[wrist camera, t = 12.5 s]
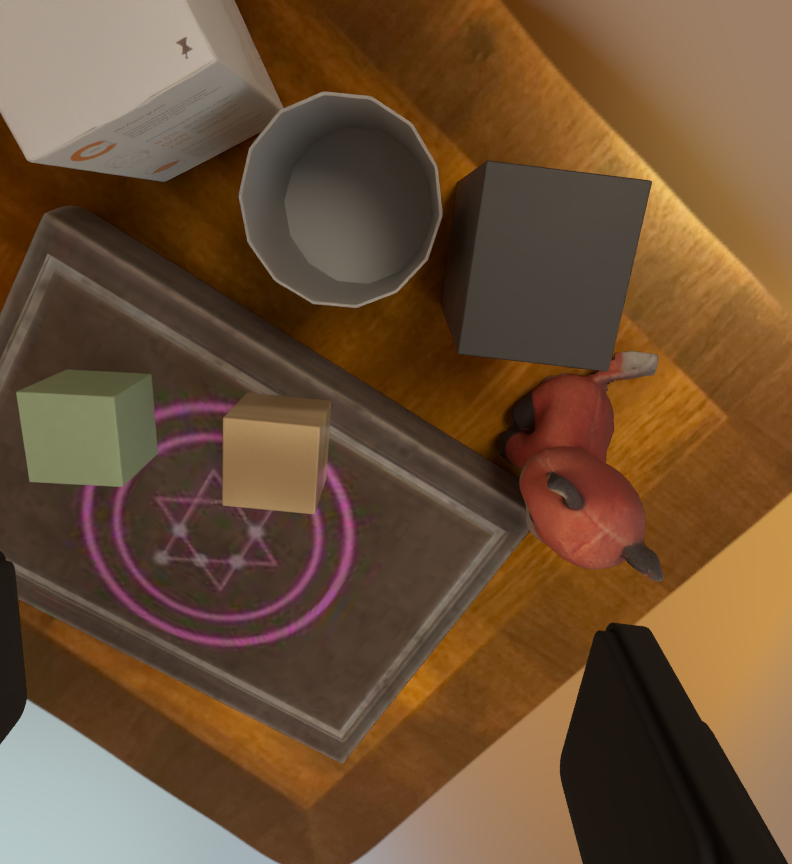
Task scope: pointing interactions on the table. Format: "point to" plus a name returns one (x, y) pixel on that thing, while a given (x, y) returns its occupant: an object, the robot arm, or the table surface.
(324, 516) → the book
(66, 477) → the sage block
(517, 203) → the stand
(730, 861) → the robot arm
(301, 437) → the birch block
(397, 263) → the cup
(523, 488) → the stuffed fox
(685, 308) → the table surface
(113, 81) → the small box
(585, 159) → the table surface
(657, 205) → the table surface
